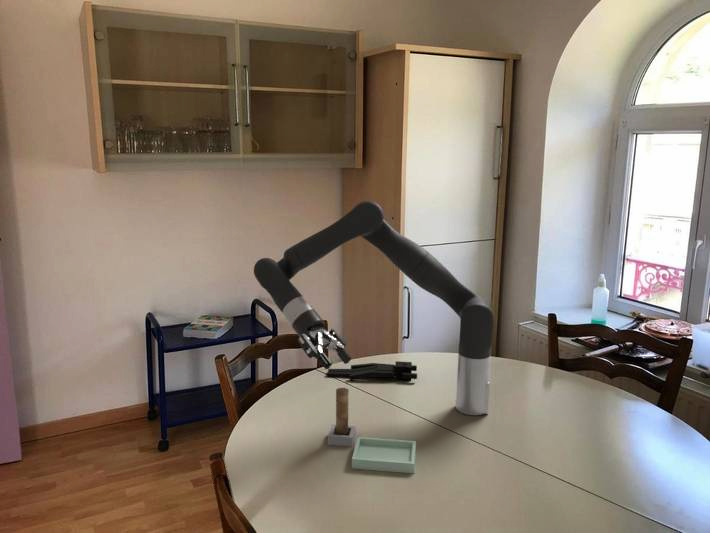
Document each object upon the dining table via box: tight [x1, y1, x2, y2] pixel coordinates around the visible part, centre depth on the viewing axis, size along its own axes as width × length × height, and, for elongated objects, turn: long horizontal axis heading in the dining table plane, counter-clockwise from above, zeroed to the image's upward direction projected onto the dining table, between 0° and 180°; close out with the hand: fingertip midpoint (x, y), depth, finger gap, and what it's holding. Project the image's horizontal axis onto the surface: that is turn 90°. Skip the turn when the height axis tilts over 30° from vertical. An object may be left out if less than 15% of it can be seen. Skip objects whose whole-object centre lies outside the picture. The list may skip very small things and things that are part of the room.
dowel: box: [335, 387, 349, 436], centre depth 156 cm, size 3×3×14 cm
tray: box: [351, 436, 417, 474], centre depth 148 cm, size 15×11×2 cm
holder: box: [327, 424, 357, 447], centre depth 157 cm, size 6×6×2 cm
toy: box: [326, 360, 418, 382], centre depth 199 cm, size 9×6×30 cm
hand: (339, 364), depth 152 cm, fingers open, 8 cm apart
